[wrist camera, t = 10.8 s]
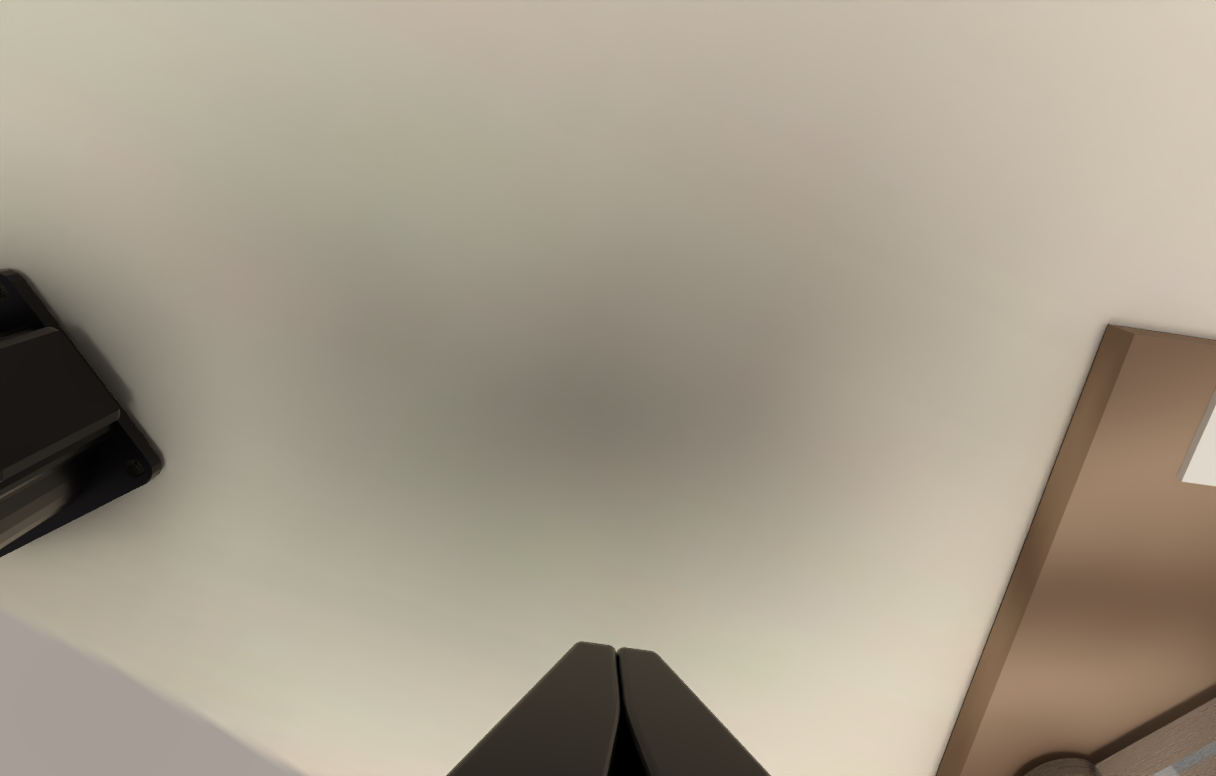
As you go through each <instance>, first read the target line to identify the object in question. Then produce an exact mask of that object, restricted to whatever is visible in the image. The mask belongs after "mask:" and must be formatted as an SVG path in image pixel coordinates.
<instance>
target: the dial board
mask: <svg viewBox="0 0 1216 776" xmlns="http://www.w3.org/2000/svg"><path fill="white" fill-rule="evenodd" d="M1214 698H1216V340H1210V339H1204V338H1197V337H1190V336H1184V335H1177V334H1170V333H1164V332H1157V331H1150V330H1143V329H1137V328H1130V327H1123V326H1117V325H1110V324H1108V327H1107V329H1106V332H1105V334H1104V337H1103V340H1102V342H1101V345H1100V348H1099V350H1098V353H1097V355H1096V358H1095V361H1094V363H1093V366H1092V369H1091V371H1090V374H1089V376H1088V379H1087V382H1086V384H1085V387H1084V390H1083V392H1082V395H1081V397H1080V400H1079V403H1078V405H1077V408H1076V410H1075V413H1074V416H1073V418H1072V421H1071V424H1070V426H1069V429H1068V431H1067V434H1066V437H1065V439H1064V442H1063V445H1062V447H1061V450H1060V452H1059V455H1058V458H1057V460H1056V463H1055V466H1054V468H1053V471H1052V473H1051V476H1050V479H1049V481H1048V484H1047V486H1046V489H1045V492H1044V494H1043V497H1042V500H1041V502H1040V505H1039V507H1038V510H1037V513H1036V515H1035V518H1034V521H1033V523H1032V526H1031V528H1030V531H1029V534H1028V536H1027V539H1026V541H1025V544H1024V547H1023V549H1022V552H1021V555H1020V557H1019V560H1018V562H1017V565H1016V568H1015V570H1014V573H1013V576H1012V578H1011V581H1010V583H1009V586H1008V589H1007V591H1006V594H1005V597H1004V599H1003V602H1002V604H1001V607H1000V610H999V612H998V615H997V617H996V620H995V623H994V625H993V628H992V631H991V633H990V636H989V638H988V641H987V644H986V646H985V649H984V652H983V654H982V657H981V659H980V662H979V665H978V667H977V670H976V673H975V675H974V678H973V680H972V683H971V686H970V688H969V691H968V693H967V696H966V699H965V701H964V704H963V707H962V709H961V712H960V714H959V717H958V720H957V722H956V725H955V728H954V730H953V733H952V735H951V738H950V741H949V743H948V746H947V749H946V751H945V754H944V756H943V759H942V762H941V764H940V767H939V769H938V772H937V775H936V776H1024V775H1025V774H1027V773H1028V772H1029V771H1031V770H1032V769H1034V768H1035V767H1037V766H1039V765H1041V764H1044V763H1046V762H1049V761H1053V760H1057V759H1064V758H1078V759H1084V760H1088V761H1091V762H1094V763H1096V764H1098V763H1099V762H1101V761H1103V760H1105V759H1106V758H1108V757H1110V756H1112V755H1114V754H1115V753H1117V752H1119V751H1121V750H1123V749H1124V748H1126V747H1128V746H1130V745H1132V744H1133V743H1135V742H1137V741H1139V740H1141V739H1142V738H1144V737H1146V736H1148V735H1150V734H1151V733H1153V732H1155V731H1157V730H1159V729H1160V728H1162V727H1164V726H1166V725H1167V724H1169V723H1171V722H1173V721H1175V720H1176V719H1178V718H1180V717H1182V716H1184V715H1185V714H1187V713H1189V712H1191V711H1193V710H1194V709H1196V708H1198V707H1200V706H1202V705H1203V704H1205V703H1207V702H1209V701H1211V700H1212V699H1214Z"/></svg>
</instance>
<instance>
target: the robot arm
mask: <svg viewBox="0 0 1216 776" xmlns="http://www.w3.org/2000/svg"><path fill="white" fill-rule="evenodd" d="M0 283H1V284H2V285H3V286H4V287H5V289H6V291H7V295H6V296H5V295H4V294H3V293H2V292H1V289H0V557H2V556H4V555H6V554H8V553H10V552H12V551H14V550H16V549H18V548H20V547H22V546H24V545H26V544H28V543H29V542H31V541H33V540H35V539H37V538H39V537H41V536H43V535H45V534H47V533H49V532H51V531H53V530H55V529H57V528H59V527H61V526H63V525H65V524H67V523H69V522H71V521H73V520H75V519H77V518H79V517H81V516H83V515H85V514H87V513H89V512H91V511H93V510H95V509H97V508H99V507H101V506H103V505H105V504H106V503H108V502H110V501H112V500H114V499H116V498H118V497H120V496H122V495H124V494H126V493H128V492H130V491H132V490H134V489H136V488H138V487H140V486H142V485H144V484H146V483H147V482H149V481H150V480H152V479H153V478H155V477H156V476H157V475H158V474H159V473H160V470H161V461H160V459H159V457H158V455H157V454H156V453H155V451H154V450H153V449H152V447H151V446H150V445H149V443H148V442H147V441H146V439H145V438H144V437H143V435H142V434H141V433H140V432H139V430H138V429H137V428H136V426H135V425H134V424H133V422H132V421H131V420H130V418H129V417H128V416H127V414H126V413H125V412H124V410H123V409H122V408H121V406H120V405H119V404H118V403H117V401H116V400H115V399H114V397H113V396H112V395H111V393H110V392H109V391H108V389H107V388H106V387H105V385H104V384H103V383H102V381H101V380H100V379H99V377H98V376H97V375H96V374H95V372H94V371H93V370H92V368H91V367H90V366H89V364H88V363H87V362H86V360H85V359H84V358H83V356H82V355H81V354H80V352H79V351H78V350H77V348H76V347H75V346H74V345H73V343H72V342H71V341H70V339H69V338H68V337H67V335H66V334H65V333H64V331H63V330H62V329H61V327H60V326H59V325H58V323H57V322H56V321H55V319H54V318H53V317H52V315H51V314H50V313H49V312H48V310H47V309H46V308H45V306H44V305H43V304H42V302H41V301H40V300H39V298H38V297H37V296H36V294H35V293H34V292H33V290H32V289H31V288H30V286H29V285H28V284H27V283H26V281H25V280H24V279H23V278H22V277H21V276H20V275H19V274H18V273H16V272H14V271H12V270H9V269H0ZM134 461H137V462H139V463H140V464H141V465H142V467H143V469H144V470H140V469H139V468H138V467H136V465H135V462H134ZM446 776H771V775H770V774H769V773H768V772H767V771H766V770H765V769H764V768H763V767H762V766H761V765H760V763H759V762H758V761H757V760H756V759H755V758H754V757H753V756H752V755H751V754H750V753H749V752H748V751H747V750H746V748H745V747H744V746H743V745H742V744H741V743H740V742H739V741H738V740H737V739H736V738H735V737H734V736H733V735H732V733H731V732H730V731H729V730H728V729H727V728H726V727H725V726H724V725H723V724H722V723H721V722H720V721H719V719H718V718H717V717H716V716H715V715H714V714H713V713H712V712H711V711H710V710H709V709H708V708H707V707H706V706H705V704H704V703H703V702H702V701H701V700H700V699H699V698H698V697H697V696H696V695H695V694H694V693H693V692H692V691H691V689H690V688H689V687H688V686H687V685H686V684H685V683H684V682H683V681H682V680H681V679H680V678H679V677H678V676H677V674H676V673H675V672H674V671H673V670H672V669H671V668H670V667H669V666H668V665H667V664H666V663H665V662H664V660H663V659H662V658H661V657H660V656H659V655H658V654H656V653H655V652H653V651H648V650H640V649H633V648H626V647H623V648H620V649H618V651H617V652H616V651H615V649H614V648H613V647H612V646H610V645H604V644H597V643H590V642H583V641H581V642H578V643H576V644H575V645H574V646H573V647H572V648H571V649H570V650H569V651H568V652H567V653H566V654H565V655H564V656H563V657H562V658H561V659H560V660H559V661H558V662H557V663H556V664H555V665H554V666H553V667H552V668H551V669H550V670H549V671H548V672H547V673H546V674H545V675H544V676H543V677H542V678H541V679H540V680H539V682H538V683H537V684H536V685H535V686H534V687H533V688H532V689H531V690H530V691H529V692H528V693H527V694H526V695H525V696H524V697H523V698H522V699H521V700H520V701H519V702H518V703H517V704H516V705H515V706H514V707H513V708H512V709H511V710H510V711H509V712H508V713H507V714H506V715H505V716H504V717H503V718H502V719H501V720H500V721H499V722H498V723H497V724H496V725H495V726H494V727H493V728H492V729H491V730H490V732H489V733H488V734H487V735H486V736H485V737H484V738H483V739H482V740H481V741H480V742H479V743H478V744H477V745H476V746H475V747H474V748H473V749H472V750H471V751H470V752H469V753H468V754H467V755H466V756H465V757H464V758H463V759H462V760H461V761H460V762H459V763H458V764H457V765H456V766H455V767H454V768H453V769H452V770H451V771H450V772H449V773H448V774H447V775H446Z"/></svg>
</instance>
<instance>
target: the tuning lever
mask: <svg viewBox="0 0 1216 776" xmlns="http://www.w3.org/2000/svg"><path fill="white" fill-rule="evenodd" d="M1024 776H1216V698H1214V699H1212V700H1211V701H1209V702H1207V703H1205V704H1203V705H1202V706H1200V707H1198V708H1196V709H1194V710H1193V711H1191V712H1189V713H1187V714H1185V715H1184V716H1182V717H1180V718H1178V719H1176V720H1175V721H1173V722H1171V723H1169V724H1167V725H1166V726H1164V727H1162V728H1160V729H1159V730H1157V731H1155V732H1153V733H1151V734H1150V735H1148V736H1146V737H1144V738H1142V739H1141V740H1139V741H1137V742H1135V743H1133V744H1132V745H1130V746H1128V747H1126V748H1124V749H1123V750H1121V751H1119V752H1117V753H1115V754H1114V755H1112V756H1110V757H1108V758H1106V759H1105V760H1103V761H1101V762H1099V763H1098V764H1096V763H1094V762H1091V761H1088V760H1084V759H1078V758H1064V759H1057V760H1053V761H1049V762H1046V763H1044V764H1041V765H1039V766H1037V767H1035V768H1034V769H1032V770H1031V771H1029V772H1028V773H1027V774H1025V775H1024Z"/></svg>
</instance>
